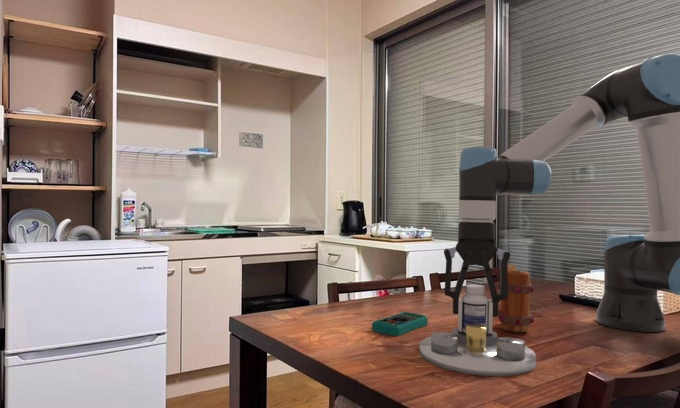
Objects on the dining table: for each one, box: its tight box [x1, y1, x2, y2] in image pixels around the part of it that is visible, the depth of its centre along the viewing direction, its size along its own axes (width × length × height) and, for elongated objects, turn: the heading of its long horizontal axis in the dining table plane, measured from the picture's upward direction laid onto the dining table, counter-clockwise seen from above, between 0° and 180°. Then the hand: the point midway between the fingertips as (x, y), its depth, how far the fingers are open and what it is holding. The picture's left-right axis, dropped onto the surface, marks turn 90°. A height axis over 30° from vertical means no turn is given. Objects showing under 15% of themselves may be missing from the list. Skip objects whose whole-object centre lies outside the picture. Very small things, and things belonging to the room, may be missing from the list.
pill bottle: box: [461, 284, 489, 334], centre depth 98 cm, size 5×5×10 cm
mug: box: [497, 264, 535, 334], centre depth 115 cm, size 15×8×15 cm, turn 168°
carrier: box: [418, 324, 537, 377], centre depth 92 cm, size 22×22×6 cm
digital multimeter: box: [371, 311, 429, 337], centre depth 113 cm, size 7×15×3 cm, turn 140°
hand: (474, 330), depth 98 cm, fingers closed on pill bottle, 5 cm apart
